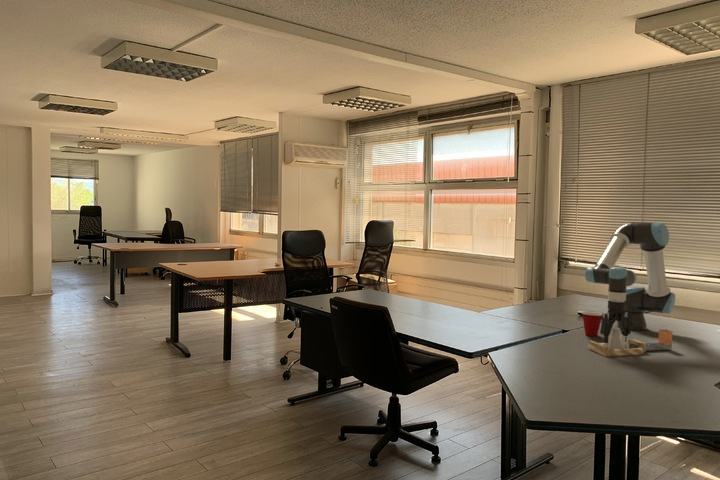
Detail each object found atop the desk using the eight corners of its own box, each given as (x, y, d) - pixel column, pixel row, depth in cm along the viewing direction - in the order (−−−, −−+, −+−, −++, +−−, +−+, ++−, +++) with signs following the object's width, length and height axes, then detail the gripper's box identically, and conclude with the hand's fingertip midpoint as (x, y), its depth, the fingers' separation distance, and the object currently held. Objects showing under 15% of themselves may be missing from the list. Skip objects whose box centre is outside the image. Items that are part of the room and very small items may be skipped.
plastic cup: (604, 334, 289) (605, 312, 289) (600, 338, 280) (601, 315, 280) (582, 331, 295) (583, 309, 295) (578, 335, 286) (579, 312, 286)
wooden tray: (630, 347, 264) (630, 337, 263) (649, 354, 251) (649, 344, 251) (588, 349, 259) (588, 339, 258) (605, 356, 246) (605, 346, 246)
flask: (625, 352, 250) (626, 330, 250) (608, 351, 252) (609, 329, 251) (620, 348, 257) (621, 327, 257) (604, 347, 259) (605, 326, 258)
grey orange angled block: (665, 347, 263) (666, 329, 262) (671, 349, 259) (672, 331, 258) (629, 349, 259) (630, 330, 258) (635, 351, 255) (636, 332, 254)
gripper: (629, 298, 259) (627, 346, 260) (592, 299, 255) (590, 348, 256) (641, 301, 252) (638, 350, 253) (603, 302, 247) (601, 352, 249)
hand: (614, 349), depth 254 cm, fingers closed on flask, 7 cm apart
